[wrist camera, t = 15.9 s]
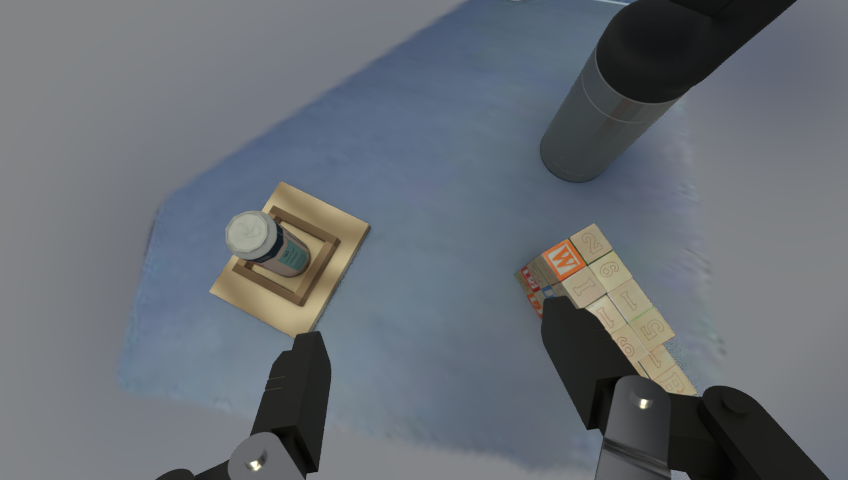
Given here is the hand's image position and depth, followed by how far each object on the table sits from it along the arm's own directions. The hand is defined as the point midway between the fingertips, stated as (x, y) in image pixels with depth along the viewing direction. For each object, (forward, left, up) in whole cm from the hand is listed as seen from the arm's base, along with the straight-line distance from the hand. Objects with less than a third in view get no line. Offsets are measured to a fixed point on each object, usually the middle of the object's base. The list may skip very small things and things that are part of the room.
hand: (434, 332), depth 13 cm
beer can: (-1, -19, -31) cm, 37 cm away
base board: (-1, -19, -33) cm, 38 cm away
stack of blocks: (-8, +17, -33) cm, 38 cm away
